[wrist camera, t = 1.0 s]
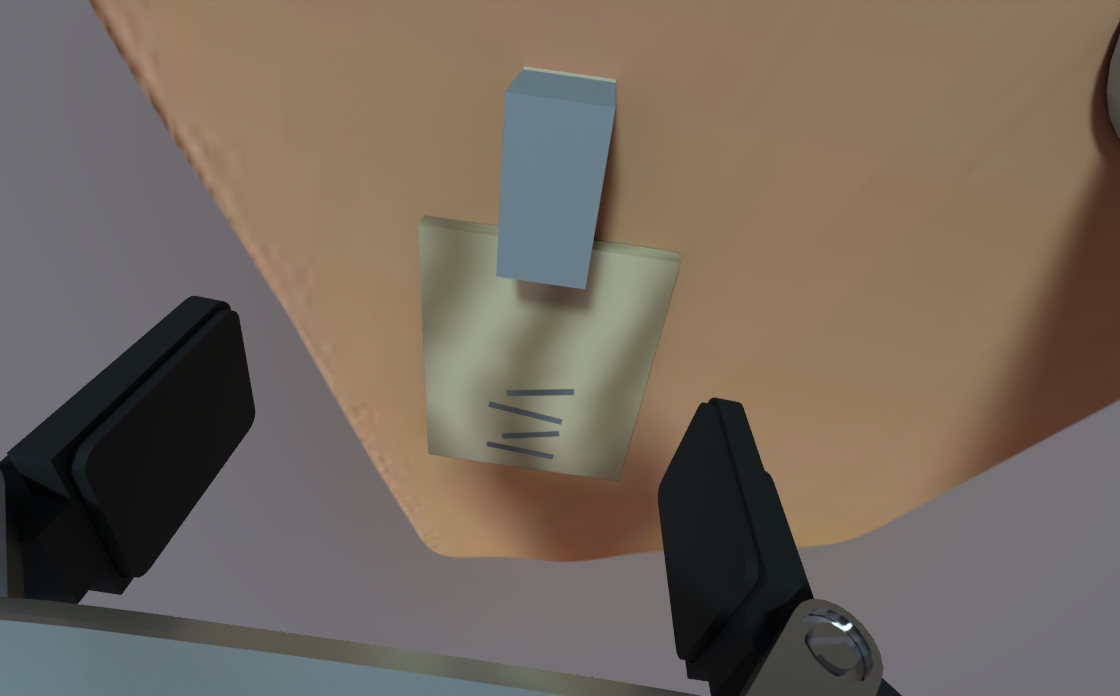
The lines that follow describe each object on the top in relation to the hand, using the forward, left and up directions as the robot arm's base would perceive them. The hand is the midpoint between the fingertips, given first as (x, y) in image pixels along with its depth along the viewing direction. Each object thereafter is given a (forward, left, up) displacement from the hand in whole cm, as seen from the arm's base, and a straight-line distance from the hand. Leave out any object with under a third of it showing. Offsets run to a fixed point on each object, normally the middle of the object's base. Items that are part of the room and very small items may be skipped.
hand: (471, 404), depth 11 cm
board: (0, +14, -19) cm, 24 cm away
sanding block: (0, +1, -19) cm, 19 cm away
